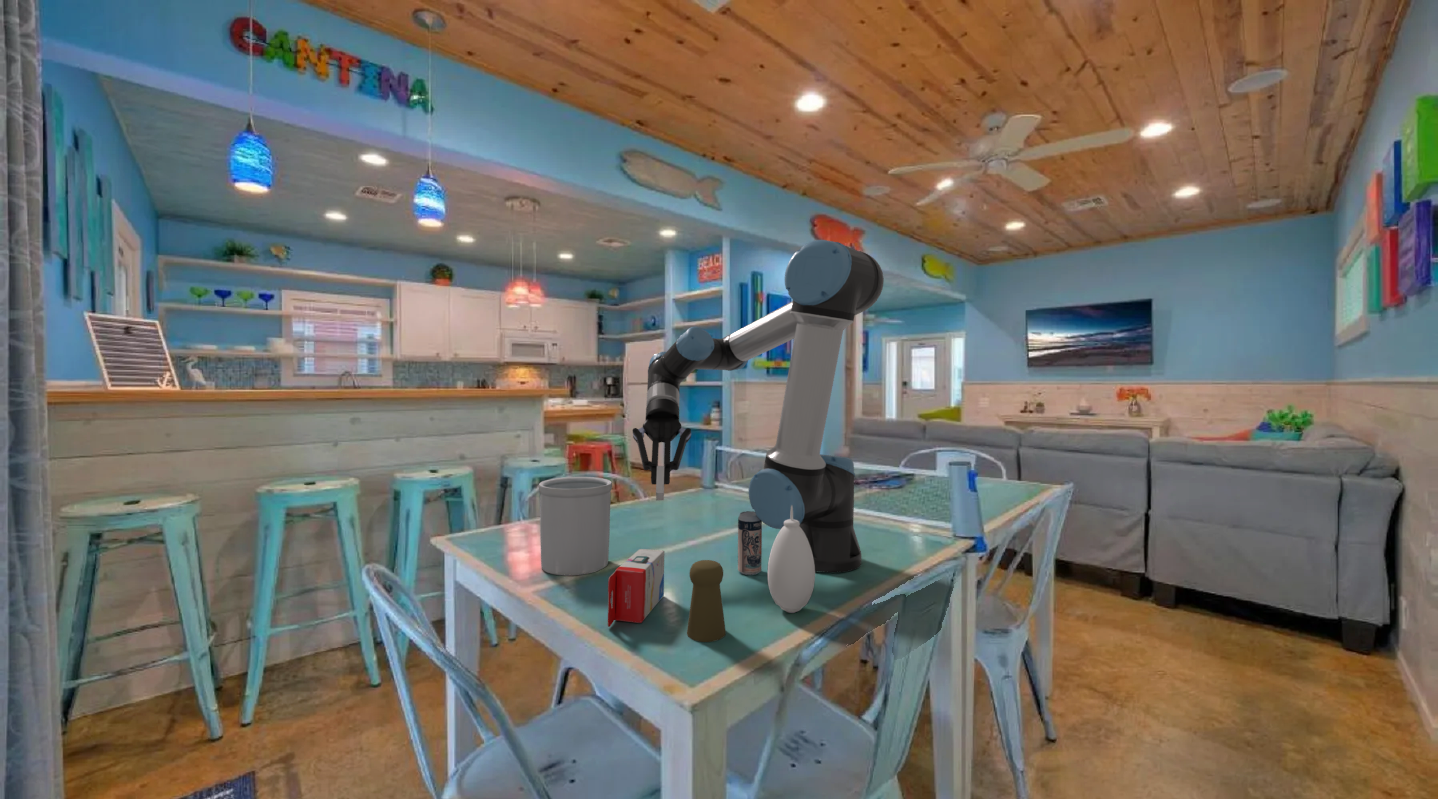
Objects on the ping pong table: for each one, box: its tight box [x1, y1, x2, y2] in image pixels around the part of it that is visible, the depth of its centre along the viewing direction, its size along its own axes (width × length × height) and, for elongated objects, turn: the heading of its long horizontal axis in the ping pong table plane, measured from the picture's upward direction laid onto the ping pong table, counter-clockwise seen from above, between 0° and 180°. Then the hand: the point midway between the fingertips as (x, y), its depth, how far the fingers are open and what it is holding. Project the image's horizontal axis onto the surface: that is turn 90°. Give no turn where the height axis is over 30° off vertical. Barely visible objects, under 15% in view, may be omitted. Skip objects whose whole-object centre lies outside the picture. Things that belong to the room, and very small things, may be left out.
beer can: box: [737, 510, 763, 576], centre depth 112 cm, size 5×5×12 cm
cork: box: [686, 559, 727, 643], centre depth 85 cm, size 6×6×11 cm
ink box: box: [607, 548, 665, 628], centre depth 93 cm, size 8×5×15 cm
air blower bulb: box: [767, 505, 816, 614], centre depth 93 cm, size 8×8×18 cm
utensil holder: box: [538, 476, 613, 576], centre depth 116 cm, size 15×15×18 cm
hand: (659, 496), depth 110 cm, fingers closed
